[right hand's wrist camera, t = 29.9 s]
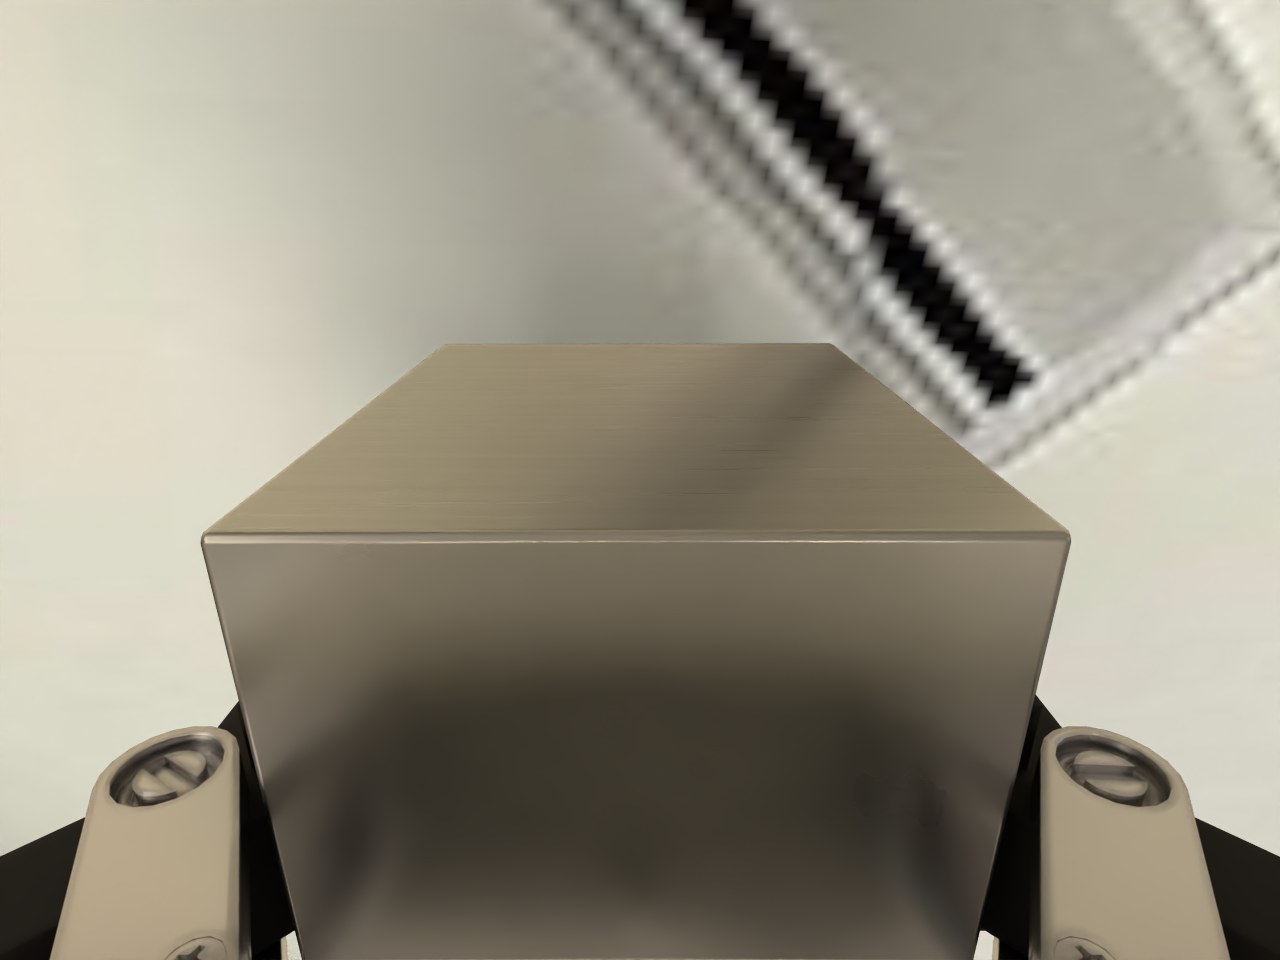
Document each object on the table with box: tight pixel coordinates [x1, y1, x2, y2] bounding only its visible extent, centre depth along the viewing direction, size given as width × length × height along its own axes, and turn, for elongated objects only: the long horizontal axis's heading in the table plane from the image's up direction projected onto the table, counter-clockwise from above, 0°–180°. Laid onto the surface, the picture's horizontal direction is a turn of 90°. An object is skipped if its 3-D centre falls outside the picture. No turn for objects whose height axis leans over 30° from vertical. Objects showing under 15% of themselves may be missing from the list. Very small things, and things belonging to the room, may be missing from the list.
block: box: [201, 343, 1071, 960], centre depth 11 cm, size 7×8×8 cm
